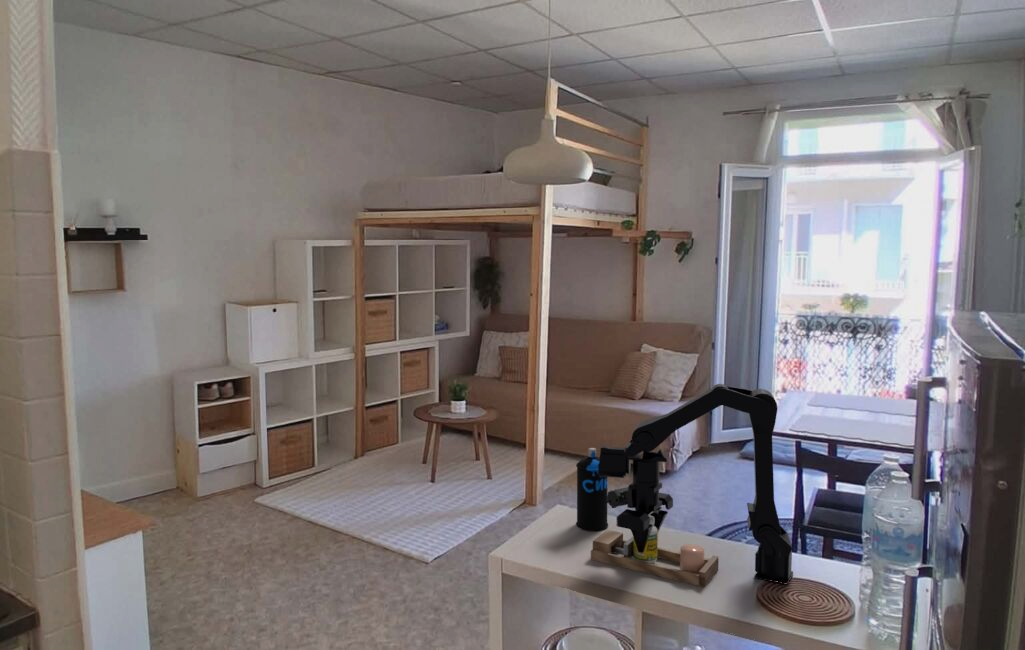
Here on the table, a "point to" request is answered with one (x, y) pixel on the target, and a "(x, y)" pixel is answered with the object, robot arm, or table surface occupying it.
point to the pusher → (625, 549)
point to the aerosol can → (591, 494)
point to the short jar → (691, 558)
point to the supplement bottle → (648, 546)
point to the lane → (614, 538)
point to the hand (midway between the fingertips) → (645, 547)
